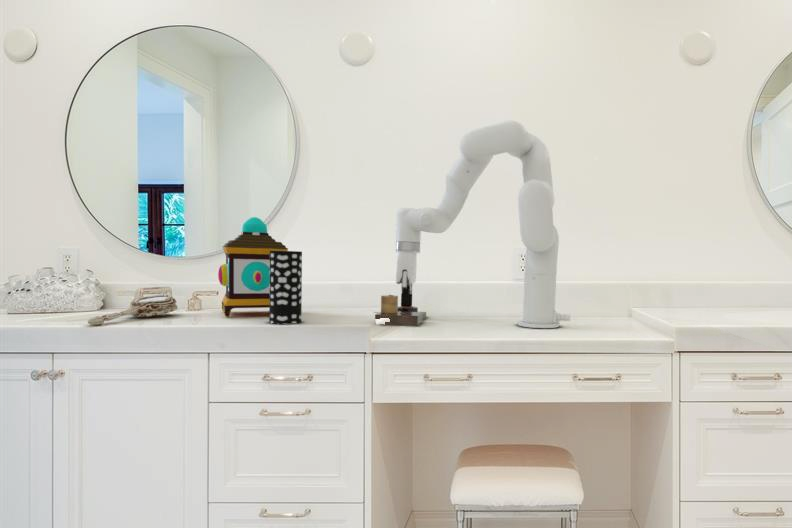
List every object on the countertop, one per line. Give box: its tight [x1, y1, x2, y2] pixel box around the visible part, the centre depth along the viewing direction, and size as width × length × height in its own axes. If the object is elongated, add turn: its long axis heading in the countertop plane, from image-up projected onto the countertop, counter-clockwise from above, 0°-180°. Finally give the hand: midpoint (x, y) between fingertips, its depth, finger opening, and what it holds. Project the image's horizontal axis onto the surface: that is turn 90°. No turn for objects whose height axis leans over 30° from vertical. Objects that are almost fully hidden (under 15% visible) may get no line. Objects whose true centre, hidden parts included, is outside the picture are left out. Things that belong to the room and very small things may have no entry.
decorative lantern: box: [217, 216, 289, 319], centre depth 170 cm, size 20×20×30 cm
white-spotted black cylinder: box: [268, 250, 303, 325], centre depth 154 cm, size 8×8×20 cm
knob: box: [380, 294, 399, 314], centre depth 160 cm, size 5×5×5 cm
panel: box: [373, 311, 424, 327], centre depth 160 cm, size 14×10×3 cm
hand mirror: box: [87, 294, 179, 326], centre depth 150 cm, size 11×6×30 cm
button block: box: [398, 305, 427, 321], centre depth 173 cm, size 11×9×4 cm
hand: (406, 306), depth 173 cm, fingers closed
